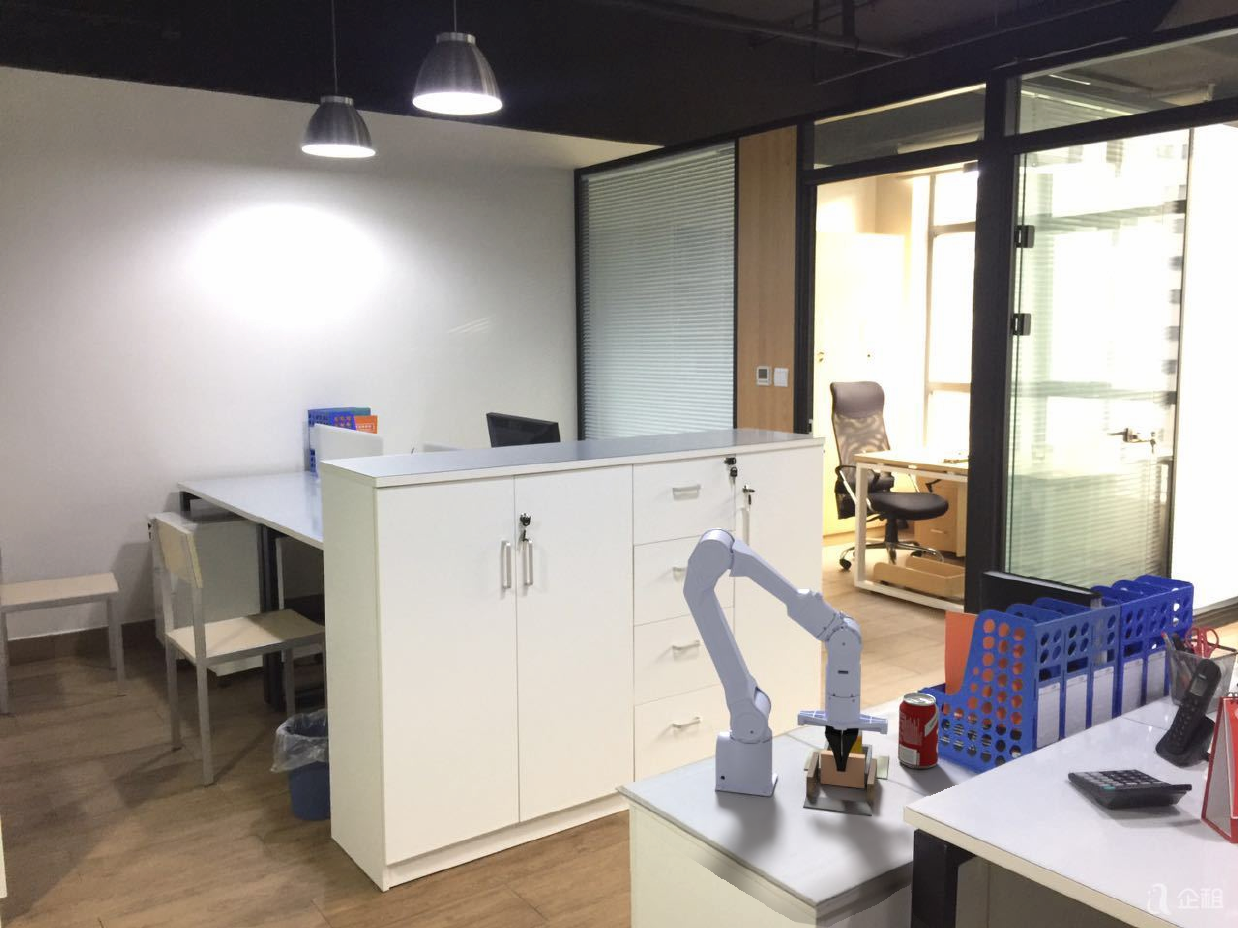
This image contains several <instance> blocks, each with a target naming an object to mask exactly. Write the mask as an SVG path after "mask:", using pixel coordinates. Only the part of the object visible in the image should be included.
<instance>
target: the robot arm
mask: <svg viewBox="0 0 1238 928" xmlns="http://www.w3.org/2000/svg"><path fill="white" fill-rule="evenodd" d="M728 570H730V571H729V575H728V577H729V578H735V577H736V578H739V577H740V578H741V577H742V578H743V577H746V578H749V579H750V580H751V581H752V582H754V583H756V584H757V585H758V586H759V587H761V588H762V589H764V590H765V591H766V592H768V593H769V594H771V595H772V596H774V598H776V599H777V600H779V601H780V602H782V603H783V604H785V606H786V613H787V616H788V617H789V618H790V619H791V620H792V621H794V622H795V623H796V624H797V625H799V626H800V627H801V628H803V630H805V631H806V632H807V633H809V634H810V635H811V636H813V637H814V638H815V639H816V640H818V641H821V642H823V643H824V648H825V650H826V652H827V658H826V659H827V660H826V662H825V669H824V670H825V676H824V677H825V680H824V682H825V683H824V685H825V686H824V709H821V710H800V709H799V710H798V711H797V726H801V727H804V726H805V725H806V726H807V725H808V726H818V727H824V736H825V740H827V741H828V743H829V745H830V747H831V750H832V752H833V755H834V758H835V762H836V768H837V771H839V772H845V771H846V765H847V760H848V757H849V754H850V751H851V749H852V747H853V745H854V743H855V742H856V740H857V737H858V732H859V730H862V731H866V732H875V733H880V734H881V735H888V728H889V726H888V725H889V724H888V723H889V719H888V718H883V717H877V716H873V715H869V714H865V713H861V692H862V691H861V690H862V689H861V688H862V686H861V685H862V681H861V680H862V665H861V663H860V662H861V652H863V648H864V644H863V641H862V629H861V627H860V626H859V623H857V621H856V620H855V619H854V617H852V616H851V615H847V613H845V611H843V610H840V611H839V610H837V609H836V608H835V607H834V606H832V605H831V604H830V603H828V602H827V601H826V600H824V599H823V598H824V595H823V593H822V592H820V591H819V590H816V591H815V592H814V591H813V590H812V589H811V588H797V587H796V586H795V585H794V584H793V583H791V582H790V581H789V580H788V579H787V578H786V577H785V576H783V575H782V574H781V573H780V572H779V571H778V570H777V569H775V568H774V566H772V565H771V564H770V563H769V562H767V561H766V560H765V559H764V558H763V557H762V556H761V555H760V554H758V553H757V552H756V551H755V550H753V549H752V548H751V547H750V546H749V545H748V544H747V543H746V542H745V541H744V540H742V539H740V538H738V537H736V538H735V537H734V536H733V534H732V533H731V532H730V531H728V530H726V529H724V528H720V527H715V528H714V527H713V528H710V529H708V530H706V531H705V532H704V533H703V534H702V536H701V537H700V539H699V541H698V542H697V544H696V545H695V547H694V549H693V550H692V552H691V554H690V556H689V557H688V559H687V566H686V572H685V577H684V583H683V587H682V592H683V597H684V600H685V602H686V604H687V607H688V608H689V609H688V610H690V613H691V616H692V617H693V620H694V623H695V624H696V627H697V629H698V631H699V634H700V636H701V639H702V641H703V643H704V645H705V647H706V648H705V649H706V650H707V653H708V654H709V657H710V660H711V661H712V665H713V666H714V668H715V671H716V673H717V676H718V677H719V679H720V683H721V685H722V687H723V691H724V696H725V701H726V702H725V703H726V706H727V709H728V712H729V717H730V718H729V727H730V728H729V730H719V731H718V733H717V738H716V744H715V753H714V755H715V756H714V757H715V761H714V762H715V763H714V764H715V785H714V789H715V791H716V790H717V791H724V792H730V793H738V794H739V793H740V794H749V795H757V796H764V797H771V796H772V794H773V791H774V788H775V785H776V782H777V779H778V774H777V773H773V730H772V729H771V727H770V726H769V718H770V713H771V711H772V701H771V699H770V698H771V697H769V695H768V694H767V693H766V692H765V691H764V690H763V689H762V688H761V687H760V686H759V685H758V682H757V680H756V678H755V676H754V675H752V674H751V673H750V671H749V668H748V666H747V664H746V662H745V659H744V657H743V654H742V653H741V650H740V648H739V646H738V643H737V641H736V639H735V636H734V633H733V631H732V629H731V627H730V625H729V623H728V621H727V618H726V615H725V613H724V611H723V608H722V607H721V604H720V601H719V599H718V597H717V595H716V592H715V588H716V587H717V586H716V585H717V583H718V581H719V579H721V577H723V575H725V573H726V572H727V571H728ZM842 730H843V733H842Z"/></svg>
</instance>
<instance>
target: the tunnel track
mask: <svg viewBox="0 0 1238 928" xmlns="http://www.w3.org/2000/svg"><path fill="white" fill-rule="evenodd" d="M822 750H824V748H816V747H810V748H809V750H808V754H807V758H806V761H805V764H804V767H803V770H804V771H807V774H806V777H805V780H806V781H805V784H806V786H805V787H806V790H805V792H806V793H805V800H804V801H803V806H802V807H803V809H811V810H812V809H814V810H821V811H830V812H837V813H845V814H852V815H853V814H854V815H861V816H869V817H872V816H873V808H874V802H875V801H874V800H875V795H876V786H877V779H883V780H887V777H888V769H889V768H888V767H889V760H890V756H888V755H881V754H880V755H879V754H874V757H872V758H871V763H870V769H869V776H868V782H867V785H866V786H867V787H866V802H865V801H858V800H849V799H840V798H839V799H838V798H832V797H825V796H824V797H823V796H815V795H814V792H815V788H816V784H817V781H818V778H819V765H820V761H821V751H822Z"/></svg>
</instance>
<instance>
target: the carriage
mask: <svg viewBox="0 0 1238 928" xmlns="http://www.w3.org/2000/svg"><path fill="white" fill-rule="evenodd" d="M871 758H873V744H867V743H862V754H854V753H850V754H849V757H848V760H847V765H846V771H845V772H839V771H837V768H836V762H835V758H834V755H833V752H832V751H831V747H830V745H829V743H828V741H827V739H825V742H824V746H823V750H822V751H821V761H820V765H819V774H818V777H817V780H820V782H819V783H820V784H825V785H831V786H842V787H849V788H850V787H851V788H856V789H857V788H858V789H865V786H867V782H868V776H869V769H870V763H871Z"/></svg>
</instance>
